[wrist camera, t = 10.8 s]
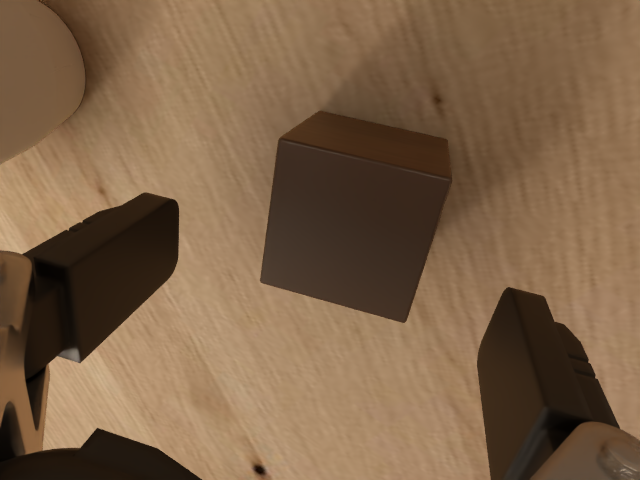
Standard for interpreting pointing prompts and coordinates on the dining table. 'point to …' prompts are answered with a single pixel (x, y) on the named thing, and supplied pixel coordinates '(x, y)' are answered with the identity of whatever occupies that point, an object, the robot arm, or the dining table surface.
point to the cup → (35, 75)
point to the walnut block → (354, 212)
